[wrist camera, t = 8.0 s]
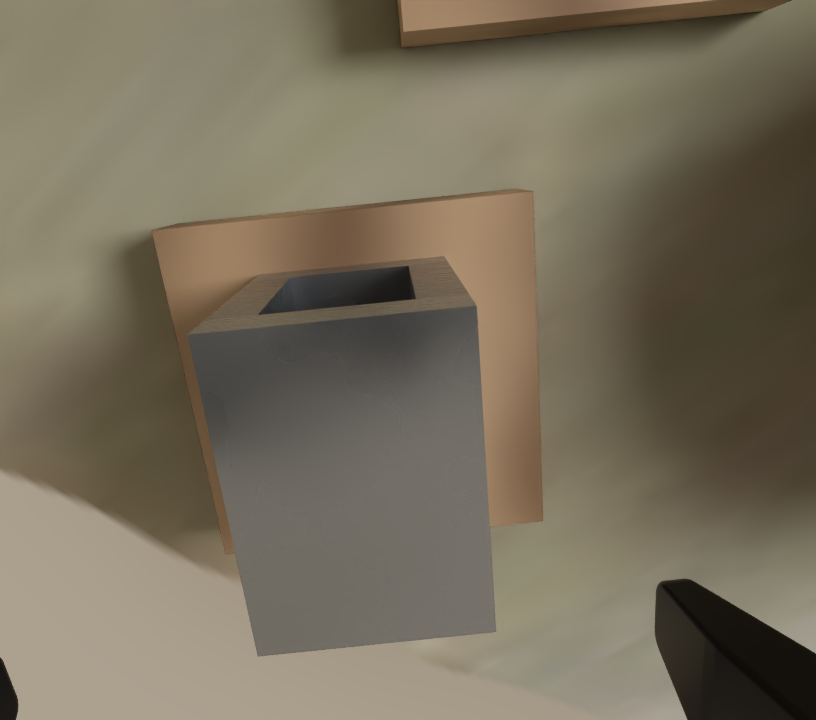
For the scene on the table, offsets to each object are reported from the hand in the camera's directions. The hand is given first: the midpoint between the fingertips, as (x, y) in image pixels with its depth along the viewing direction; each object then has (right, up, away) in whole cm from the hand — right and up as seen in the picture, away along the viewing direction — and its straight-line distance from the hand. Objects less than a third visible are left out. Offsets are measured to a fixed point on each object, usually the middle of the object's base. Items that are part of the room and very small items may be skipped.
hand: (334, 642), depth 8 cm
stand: (0, +4, +11) cm, 11 cm away
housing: (0, +3, +9) cm, 9 cm away
